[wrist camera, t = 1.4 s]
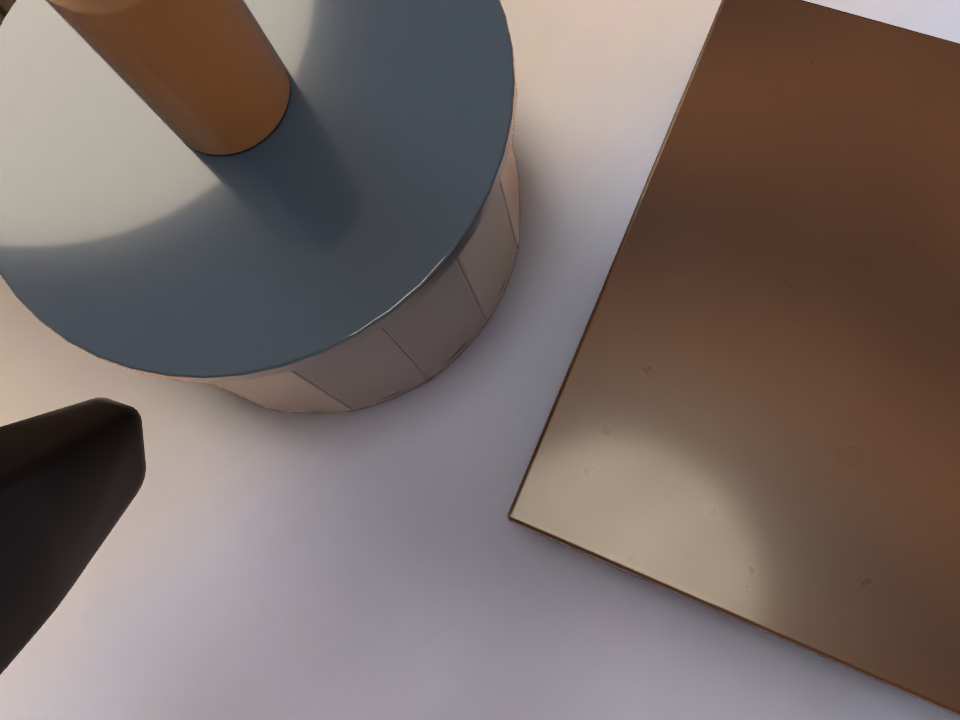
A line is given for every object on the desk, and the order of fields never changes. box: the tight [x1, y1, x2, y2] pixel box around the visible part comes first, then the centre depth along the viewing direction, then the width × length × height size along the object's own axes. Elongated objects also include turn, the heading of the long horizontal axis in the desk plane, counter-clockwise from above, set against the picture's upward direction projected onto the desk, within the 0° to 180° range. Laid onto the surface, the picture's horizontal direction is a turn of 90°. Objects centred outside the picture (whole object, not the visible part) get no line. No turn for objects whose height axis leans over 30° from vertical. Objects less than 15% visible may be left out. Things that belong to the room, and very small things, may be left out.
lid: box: [0, 0, 517, 383], centre depth 16 cm, size 12×12×7 cm
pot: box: [208, 143, 520, 414], centre depth 21 cm, size 11×11×6 cm
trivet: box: [507, 0, 960, 716], centre depth 20 cm, size 14×14×3 cm
